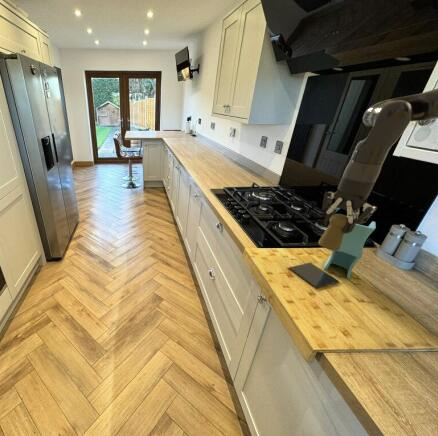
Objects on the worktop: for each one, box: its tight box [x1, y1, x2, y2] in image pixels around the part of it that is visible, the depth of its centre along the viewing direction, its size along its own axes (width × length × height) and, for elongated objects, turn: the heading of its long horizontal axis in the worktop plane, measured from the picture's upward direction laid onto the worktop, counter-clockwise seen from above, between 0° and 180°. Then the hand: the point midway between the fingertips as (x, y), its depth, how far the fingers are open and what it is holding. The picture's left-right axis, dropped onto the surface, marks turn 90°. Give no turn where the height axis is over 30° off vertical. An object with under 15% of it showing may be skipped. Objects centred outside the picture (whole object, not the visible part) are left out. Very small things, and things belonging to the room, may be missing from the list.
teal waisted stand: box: [323, 214, 377, 279], centre depth 84 cm, size 8×8×20 cm
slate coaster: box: [288, 262, 340, 289], centre depth 85 cm, size 11×11×1 cm
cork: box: [317, 213, 348, 251], centre depth 76 cm, size 6×6×11 cm
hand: (336, 228), depth 76 cm, fingers closed on cork, 5 cm apart
